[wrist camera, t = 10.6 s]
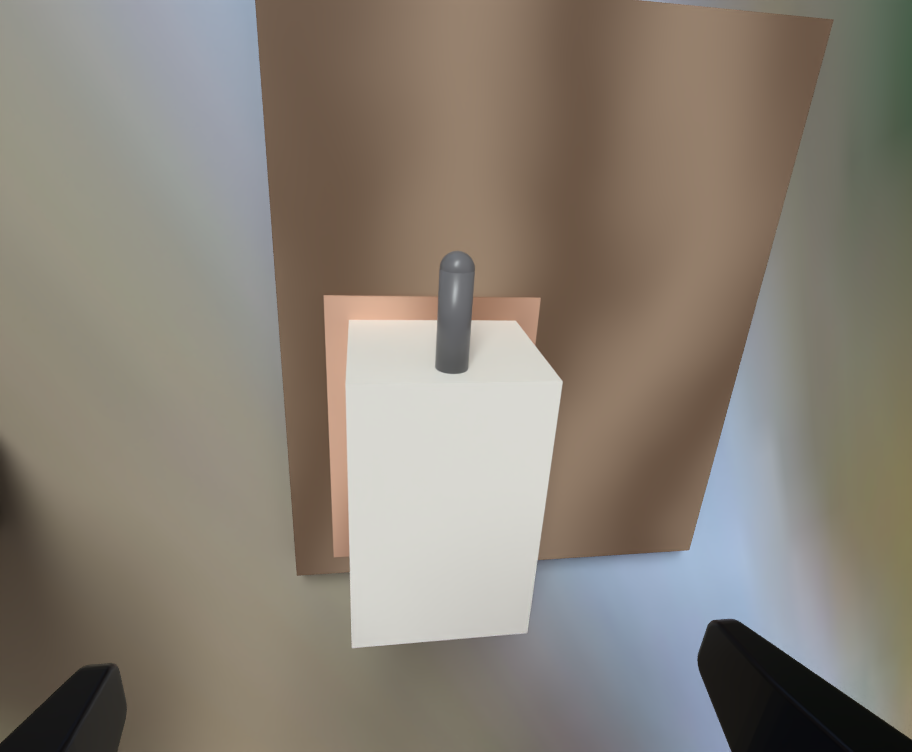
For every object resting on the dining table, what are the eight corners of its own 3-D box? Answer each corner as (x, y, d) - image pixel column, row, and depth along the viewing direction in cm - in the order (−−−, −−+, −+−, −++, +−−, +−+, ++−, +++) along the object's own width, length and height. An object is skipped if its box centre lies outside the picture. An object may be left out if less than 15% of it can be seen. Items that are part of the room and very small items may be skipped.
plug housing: (353, 540, 20) (351, 648, 16) (346, 221, 16) (341, 257, 12) (494, 532, 21) (527, 632, 17) (525, 227, 16) (579, 262, 12)
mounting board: (299, 559, 21) (289, 632, 18) (257, -31, 14) (229, -71, 11) (679, 536, 23) (725, 597, 20) (812, 23, 16) (914, 2, 13)
